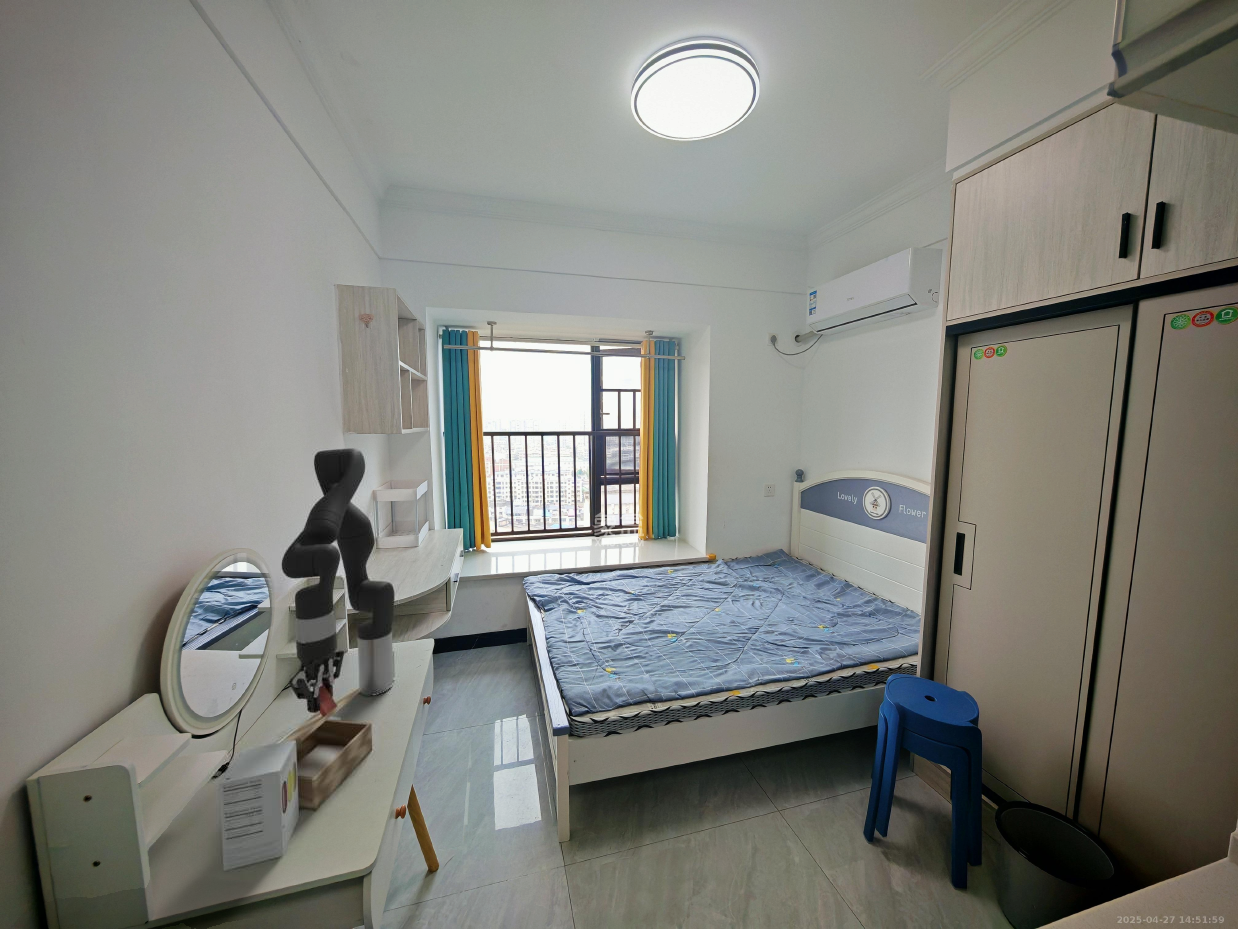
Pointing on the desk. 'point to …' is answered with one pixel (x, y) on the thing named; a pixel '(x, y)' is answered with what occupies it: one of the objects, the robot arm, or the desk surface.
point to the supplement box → (259, 804)
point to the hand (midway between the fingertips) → (320, 706)
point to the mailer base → (337, 764)
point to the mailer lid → (320, 714)
